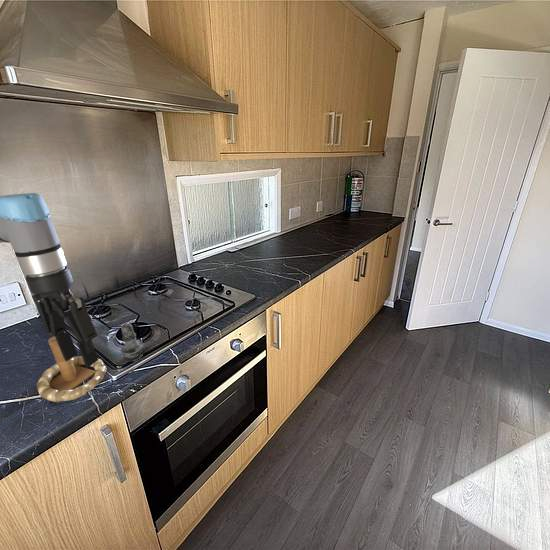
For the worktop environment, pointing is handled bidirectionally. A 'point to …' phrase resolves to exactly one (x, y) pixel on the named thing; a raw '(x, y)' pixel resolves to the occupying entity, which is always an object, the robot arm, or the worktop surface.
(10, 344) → the worktop surface
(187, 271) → the worktop surface
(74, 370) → the post stand
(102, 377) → the ring
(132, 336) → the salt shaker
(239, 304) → the worktop surface
